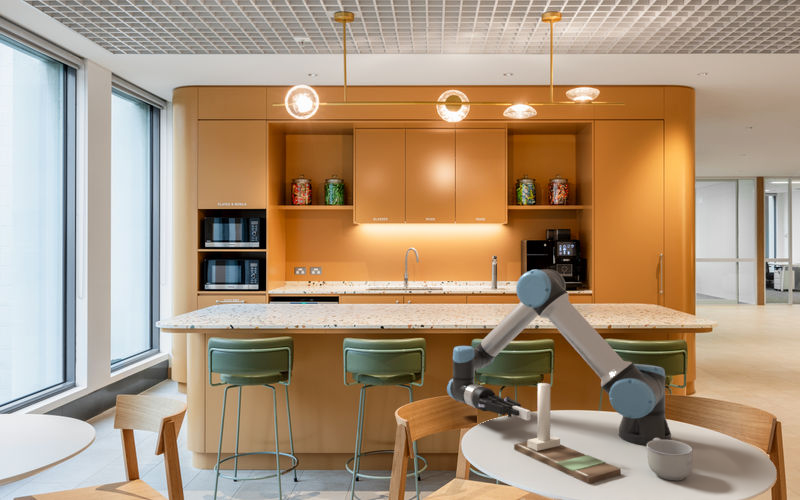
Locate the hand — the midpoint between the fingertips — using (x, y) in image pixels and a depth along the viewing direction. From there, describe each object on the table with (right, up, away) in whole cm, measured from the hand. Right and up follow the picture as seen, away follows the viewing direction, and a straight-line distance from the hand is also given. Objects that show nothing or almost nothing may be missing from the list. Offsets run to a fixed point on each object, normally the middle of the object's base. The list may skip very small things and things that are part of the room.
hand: (528, 415), depth 168 cm
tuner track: (+7, -9, -13) cm, 17 cm away
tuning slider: (+3, -7, -6) cm, 10 cm away
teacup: (+32, -9, -21) cm, 39 cm away
